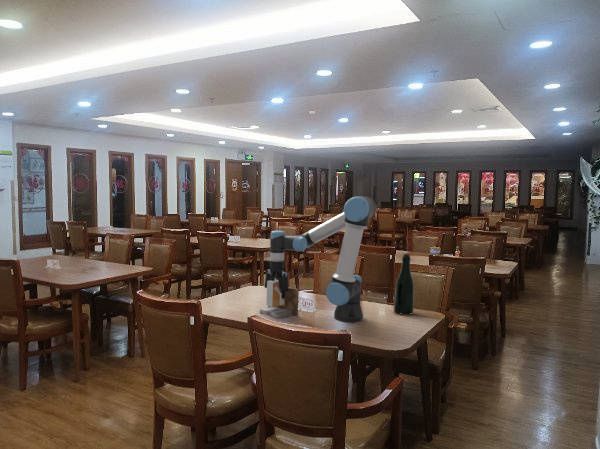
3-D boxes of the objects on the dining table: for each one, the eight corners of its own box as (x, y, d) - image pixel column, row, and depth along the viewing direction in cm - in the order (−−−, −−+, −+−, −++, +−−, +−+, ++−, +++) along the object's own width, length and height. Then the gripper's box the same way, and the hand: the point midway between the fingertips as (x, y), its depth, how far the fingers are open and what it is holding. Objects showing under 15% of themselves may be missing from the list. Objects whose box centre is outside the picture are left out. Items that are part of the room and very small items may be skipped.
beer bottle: (390, 312, 261) (393, 253, 258) (400, 309, 269) (403, 251, 266) (407, 316, 254) (410, 255, 251) (416, 313, 262) (419, 254, 259)
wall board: (297, 315, 250) (298, 289, 248) (284, 319, 241) (285, 292, 240) (269, 308, 262) (270, 283, 261) (256, 311, 254) (256, 286, 252)
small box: (272, 307, 245) (272, 282, 244) (266, 304, 250) (266, 280, 249) (285, 305, 250) (286, 281, 249) (279, 303, 255) (279, 279, 254)
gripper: (296, 261, 245) (295, 305, 247) (267, 257, 257) (266, 298, 259) (287, 263, 239) (285, 307, 241) (258, 258, 252) (257, 300, 253)
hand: (275, 302), depth 250 cm, fingers closed on small box, 7 cm apart
